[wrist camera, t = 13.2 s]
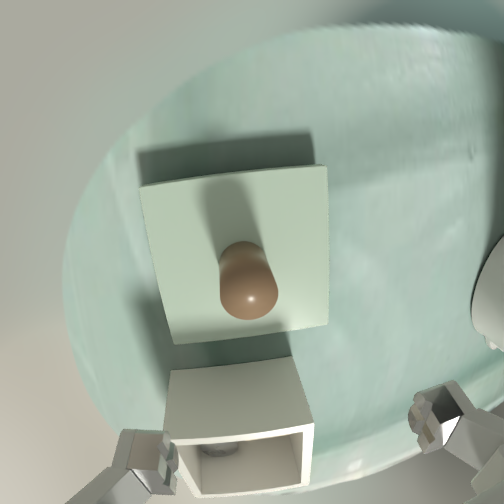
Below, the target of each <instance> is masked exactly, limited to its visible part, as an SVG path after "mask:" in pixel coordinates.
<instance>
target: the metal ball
mask: <svg viewBox="0 0 504 504" xmlns="http://www.w3.org/2000/svg"><path fill="white" fill-rule="evenodd" d="M201 450H202V451H203V452H204V453H205V454H207V455H210V456H214V457H225V456H229V455H232V454H234V453H235V452H236V451H237V450H238V441H235V442H225V443H213V444H201Z"/></svg>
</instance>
